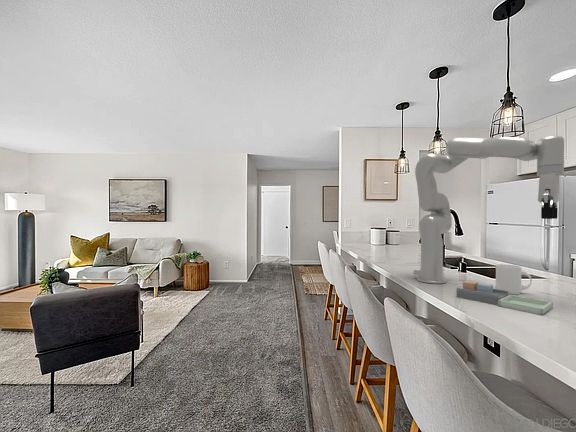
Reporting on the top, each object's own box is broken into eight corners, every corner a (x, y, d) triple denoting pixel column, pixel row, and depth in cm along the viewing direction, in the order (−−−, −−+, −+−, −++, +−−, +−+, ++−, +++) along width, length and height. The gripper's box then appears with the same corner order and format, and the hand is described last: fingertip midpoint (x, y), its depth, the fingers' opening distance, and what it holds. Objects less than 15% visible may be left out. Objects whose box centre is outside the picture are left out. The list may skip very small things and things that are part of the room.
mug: (533, 296, 121) (534, 269, 121) (496, 292, 127) (497, 266, 127) (529, 291, 129) (529, 265, 129) (494, 288, 135) (494, 263, 135)
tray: (497, 306, 109) (497, 300, 109) (510, 300, 116) (510, 294, 116) (542, 315, 99) (542, 309, 99) (552, 308, 107) (552, 302, 107)
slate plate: (456, 296, 120) (456, 287, 120) (467, 292, 127) (467, 284, 127) (498, 305, 109) (498, 295, 109) (508, 300, 116) (508, 291, 116)
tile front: (476, 292, 118) (477, 284, 118) (481, 290, 120) (481, 282, 120) (488, 294, 114) (489, 286, 114) (493, 292, 117) (493, 284, 117)
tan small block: (462, 289, 121) (462, 282, 121) (467, 288, 124) (467, 280, 124) (474, 291, 118) (474, 283, 118) (478, 290, 121) (478, 282, 121)
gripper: (541, 174, 122) (540, 218, 122) (532, 170, 110) (531, 218, 110) (566, 172, 117) (566, 218, 117) (560, 167, 105) (559, 219, 105)
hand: (549, 218), depth 114 cm, fingers open, 9 cm apart
